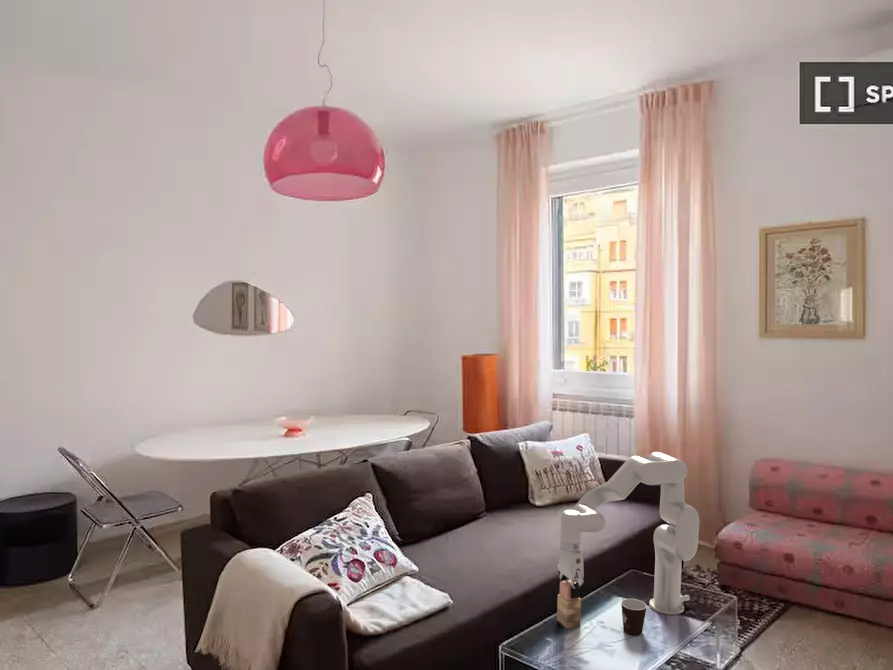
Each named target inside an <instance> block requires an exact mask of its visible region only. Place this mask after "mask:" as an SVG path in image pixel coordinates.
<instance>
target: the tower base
mask: <svg viewBox="0 0 893 670" xmlns="http://www.w3.org/2000/svg"><path fill="white" fill-rule="evenodd" d="M556 610H557V611H556V621H557V620H558V621H559V622H560V623H561V624H562V625H563V626H564V627H565V628H564V627H563V626H562V625H561V624H560V623H559V622H558V621H557V622H558V623H559V624H560V625H561V626H562V627H563V628H564V629H566V628H567V629H571V628H572V629H573V628H576V627H581V612H580V613H575V614H570V615H565V614H564V613H563V612H562V611H561V610H559V609H558V608H556Z"/></svg>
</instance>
